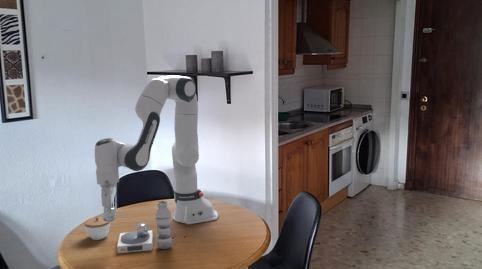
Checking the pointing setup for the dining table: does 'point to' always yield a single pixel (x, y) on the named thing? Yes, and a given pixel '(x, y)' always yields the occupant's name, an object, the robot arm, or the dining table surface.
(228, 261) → the dining table surface
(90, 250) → the dining table surface
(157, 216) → the plastic bottle
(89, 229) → the lidded jar
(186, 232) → the dining table surface
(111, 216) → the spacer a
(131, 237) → the kitchen scale
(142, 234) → the silver ball
